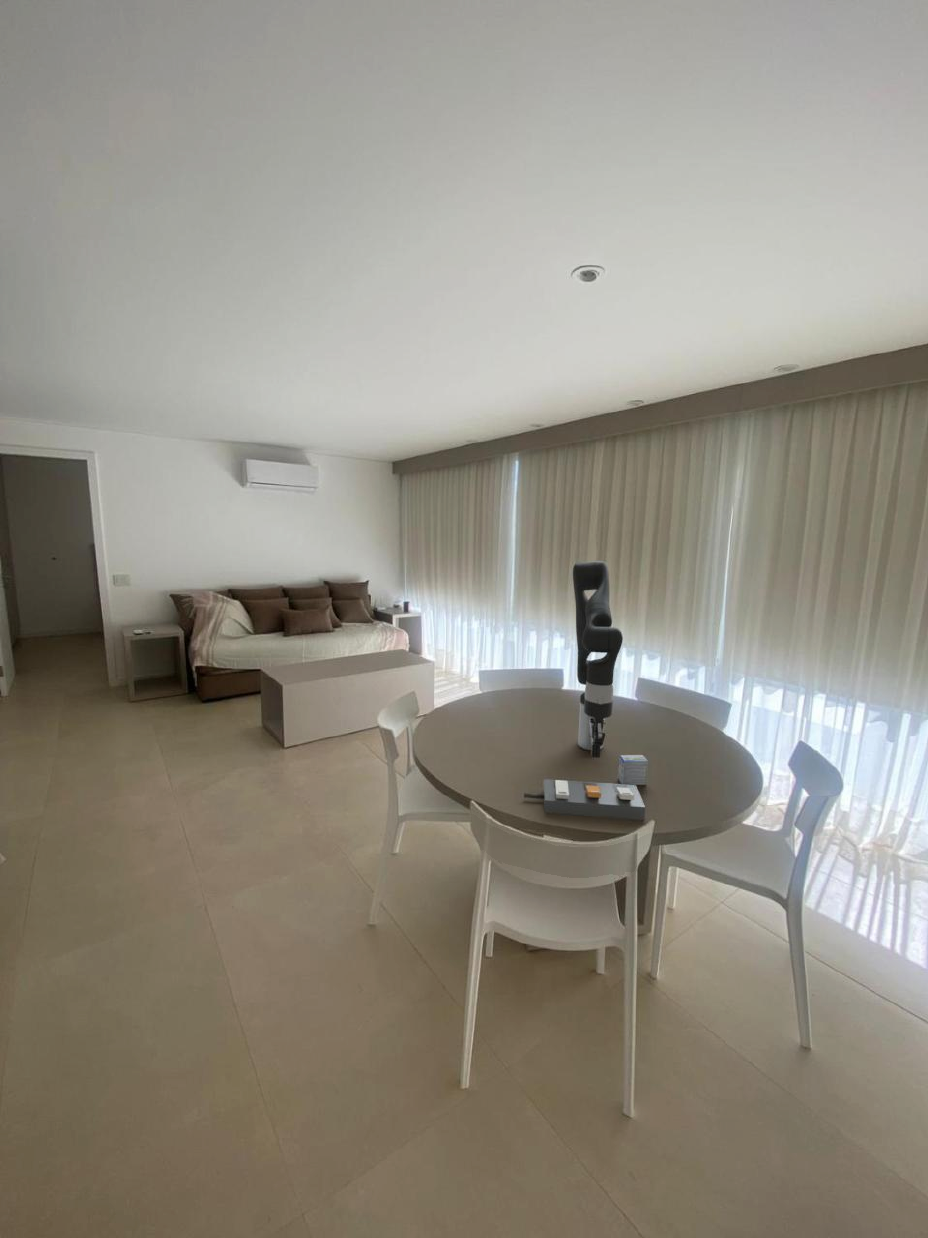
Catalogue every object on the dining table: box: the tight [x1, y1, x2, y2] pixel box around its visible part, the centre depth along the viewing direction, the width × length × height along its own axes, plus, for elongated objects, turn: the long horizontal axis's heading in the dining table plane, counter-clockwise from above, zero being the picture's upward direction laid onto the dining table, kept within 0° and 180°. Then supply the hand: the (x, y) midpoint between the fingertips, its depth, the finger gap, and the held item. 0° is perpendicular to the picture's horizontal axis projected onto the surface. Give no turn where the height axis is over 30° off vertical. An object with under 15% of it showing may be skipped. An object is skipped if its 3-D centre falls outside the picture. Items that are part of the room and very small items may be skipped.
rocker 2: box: [586, 785, 601, 798], centre depth 140 cm, size 6×4×2 cm, turn 173°
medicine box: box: [617, 754, 649, 786], centre depth 156 cm, size 8×4×9 cm, turn 92°
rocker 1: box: [554, 779, 569, 799], centre depth 141 cm, size 6×4×2 cm, turn 173°
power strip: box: [523, 778, 646, 821], centre depth 144 cm, size 12×34×5 cm, turn 83°
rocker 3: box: [616, 787, 634, 800], centre depth 139 cm, size 6×4×2 cm, turn 173°
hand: (595, 756), depth 136 cm, fingers closed
